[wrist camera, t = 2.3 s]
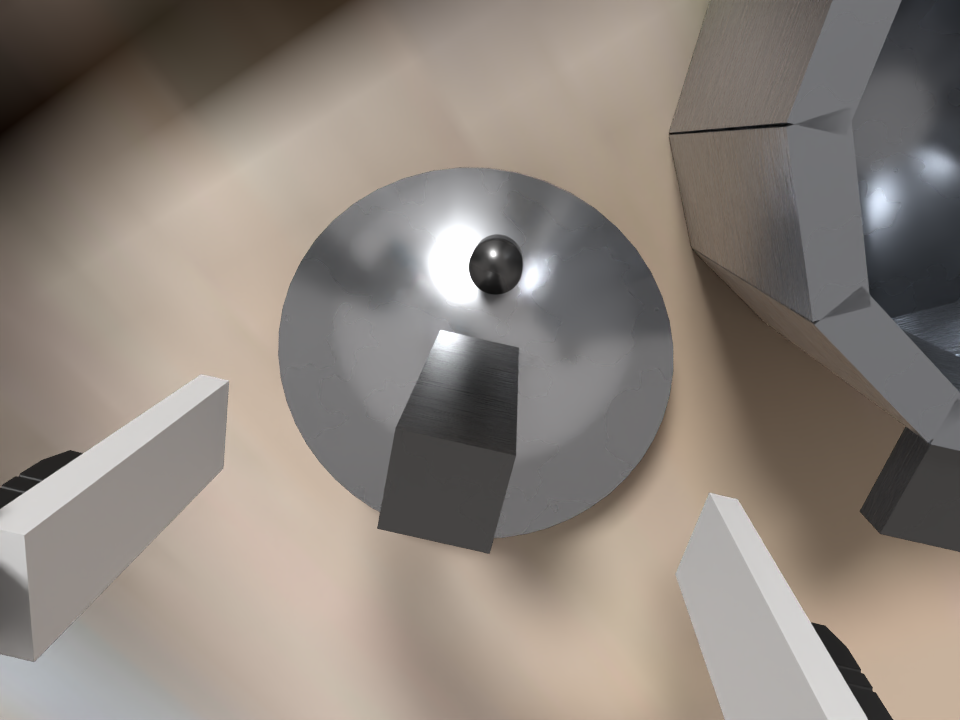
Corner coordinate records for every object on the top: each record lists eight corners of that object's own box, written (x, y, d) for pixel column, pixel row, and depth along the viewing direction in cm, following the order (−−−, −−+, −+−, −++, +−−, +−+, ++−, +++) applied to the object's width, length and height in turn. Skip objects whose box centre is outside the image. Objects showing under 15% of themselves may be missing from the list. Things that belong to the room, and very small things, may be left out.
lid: (287, 463, 27) (150, 647, 17) (323, 125, 22) (155, 109, 12) (599, 533, 27) (642, 757, 17) (711, 214, 22) (866, 271, 12)
